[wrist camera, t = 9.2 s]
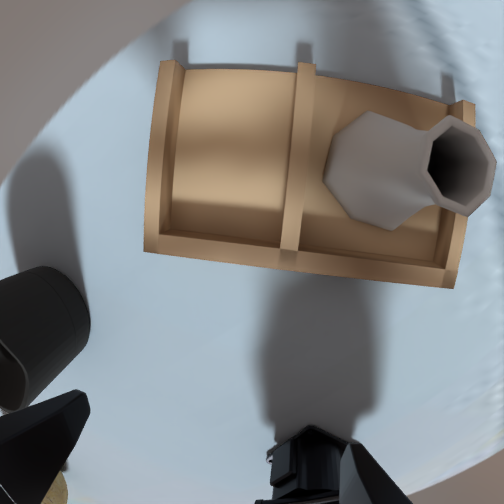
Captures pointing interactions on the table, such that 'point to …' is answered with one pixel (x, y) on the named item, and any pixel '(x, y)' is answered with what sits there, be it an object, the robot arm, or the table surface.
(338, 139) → the flask
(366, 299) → the table surface
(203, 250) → the rack
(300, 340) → the table surface
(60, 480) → the fossilized egg
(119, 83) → the table surface
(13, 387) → the pen holder
